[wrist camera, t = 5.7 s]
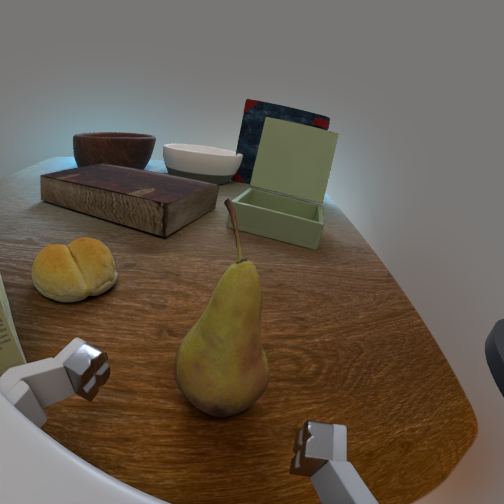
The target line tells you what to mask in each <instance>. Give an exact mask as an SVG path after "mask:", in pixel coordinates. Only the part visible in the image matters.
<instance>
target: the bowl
mask: <svg viewBox="0 0 504 504" xmlns="http://www.w3.org/2000/svg"><path fill="white" fill-rule="evenodd" d="M163 157H164V162H165V165H166V168H167V170H168V172H169V175H174V176H179V177H184V178H189V179H194V180H198V181H203V182H208V183H213V184H217V185H219V184H226V183H228V182H229V180H230V179H231V178H232V177H233V176H234V174H235V173H236V172H237V170H238V168H239V167H240V164H241V161H242V158H243V155H242V154H239V153H238V154H237V155H236V152H234V151H229V150H225V149H220V148H214V147H208V146H200V145H190V144H165V145H164V146H163Z"/></svg>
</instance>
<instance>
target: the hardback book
mask: <svg viewBox="0 0 504 504" xmlns="http://www.w3.org/2000/svg"><path fill="white" fill-rule="evenodd" d="M218 186H219V185H217V184H213V183H208V182H203V181H198V180H194V179H189V178H184V177H179V176H174V175H168V174H163V173H158V172H152V171H147V170H141V169H135V168H129V167H123V166H117V165H110V164H104V163H103V164H96V165H90V166H85V167H79V168H74V169H69V170H63V171H59V172H54V173H49V174H45V175H41V200H44V201H47V202H50V203H54V204H57V205H60V206H63V207H67V208H70V209H73V210H76V211H80V212H83V213H86V214H90V215H93V216H96V217H100V218H103V219H106V220H109V221H113V222H116V223H119V224H123V225H126V226H129V227H133V228H136V229H140V230H143V231H146V232H150V233H153V234H156V235H160V236H163V237H167V236H168V235H170V234H172V233H173V232H175V231H177V230H178V229H180V228H182V227H183V226H185V225H187V224H188V223H190V222H192V221H194V220H195V219H197V218H199V217H201V216H202V215H204V214H206V213H208V212H209V211H211V210H213V209H215V206H216V201H217V195H218Z"/></svg>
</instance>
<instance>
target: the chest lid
mask: <svg viewBox="0 0 504 504" xmlns="http://www.w3.org/2000/svg"><path fill="white" fill-rule="evenodd" d="M337 138H338V133H334V132H331V131H327V130H323V129H319V128H315V127H311V126H307V125H303V124H298V123H294V122H289V121H284V120H280V119H275V118H269V117H266V119H265V123H264V127H263V131H262V136H261V140H260V144H259V148H258V153H257V157H256V161H255V165H254V170H253V174H252V178H251V183H250V186H255V187H259V188H263V189H268V190H272V191H276V192H280V193H284V194H288V195H292V196H296V197H300V198H304V199H308V200H312V201H315V202H319V203H323V199H324V195H325V191H326V187H327V182H328V178H329V174H330V170H331V165H332V161H333V156H334V152H335V147H336V142H337Z"/></svg>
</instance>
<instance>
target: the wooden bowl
mask: <svg viewBox="0 0 504 504" xmlns="http://www.w3.org/2000/svg"><path fill="white" fill-rule="evenodd" d="M155 141H156V137H155V136H151V135H146V134H136V133H117V132H102V133H101V132H99V133H83V134H77V135H75V136H74V137H73V149H74V157H75V161H76V164H77V166H78V168H79V167H85V166H90V165H96V164H103V163H104V164H110V165H117V166H123V167H129V168H135V169H141V170H143V169H144V168H145V167H146V165H147V164H148V162H149V160H150V158H151V155H152V152H153V148H154V145H155Z"/></svg>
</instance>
